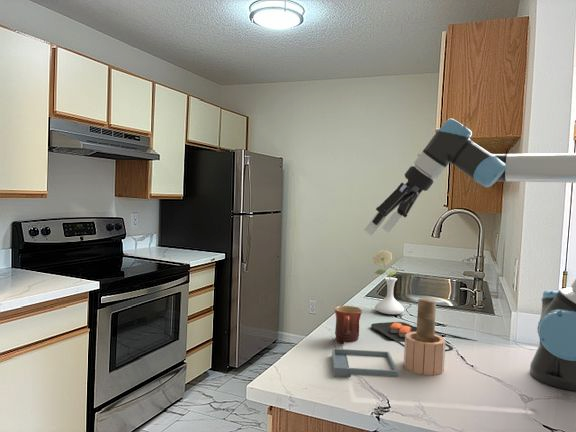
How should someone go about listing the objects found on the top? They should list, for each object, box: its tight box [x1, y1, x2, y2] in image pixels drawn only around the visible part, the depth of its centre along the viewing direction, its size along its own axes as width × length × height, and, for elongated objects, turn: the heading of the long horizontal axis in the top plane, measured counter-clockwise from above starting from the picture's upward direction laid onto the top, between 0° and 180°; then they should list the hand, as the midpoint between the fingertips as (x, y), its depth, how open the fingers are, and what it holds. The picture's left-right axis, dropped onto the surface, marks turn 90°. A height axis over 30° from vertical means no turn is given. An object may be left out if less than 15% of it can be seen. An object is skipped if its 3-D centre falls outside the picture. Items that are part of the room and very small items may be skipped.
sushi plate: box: [370, 321, 478, 352], centre depth 146 cm, size 29×30×4 cm
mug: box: [333, 305, 363, 345], centre depth 137 cm, size 12×9×10 cm
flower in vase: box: [372, 249, 405, 315], centre depth 175 cm, size 13×11×25 cm
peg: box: [416, 297, 437, 343], centre depth 117 cm, size 4×4×18 cm
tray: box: [331, 348, 399, 378], centre depth 119 cm, size 16×14×2 cm
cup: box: [403, 332, 447, 376], centre depth 117 cm, size 10×10×9 cm
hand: (377, 231), depth 128 cm, fingers open, 13 cm apart
